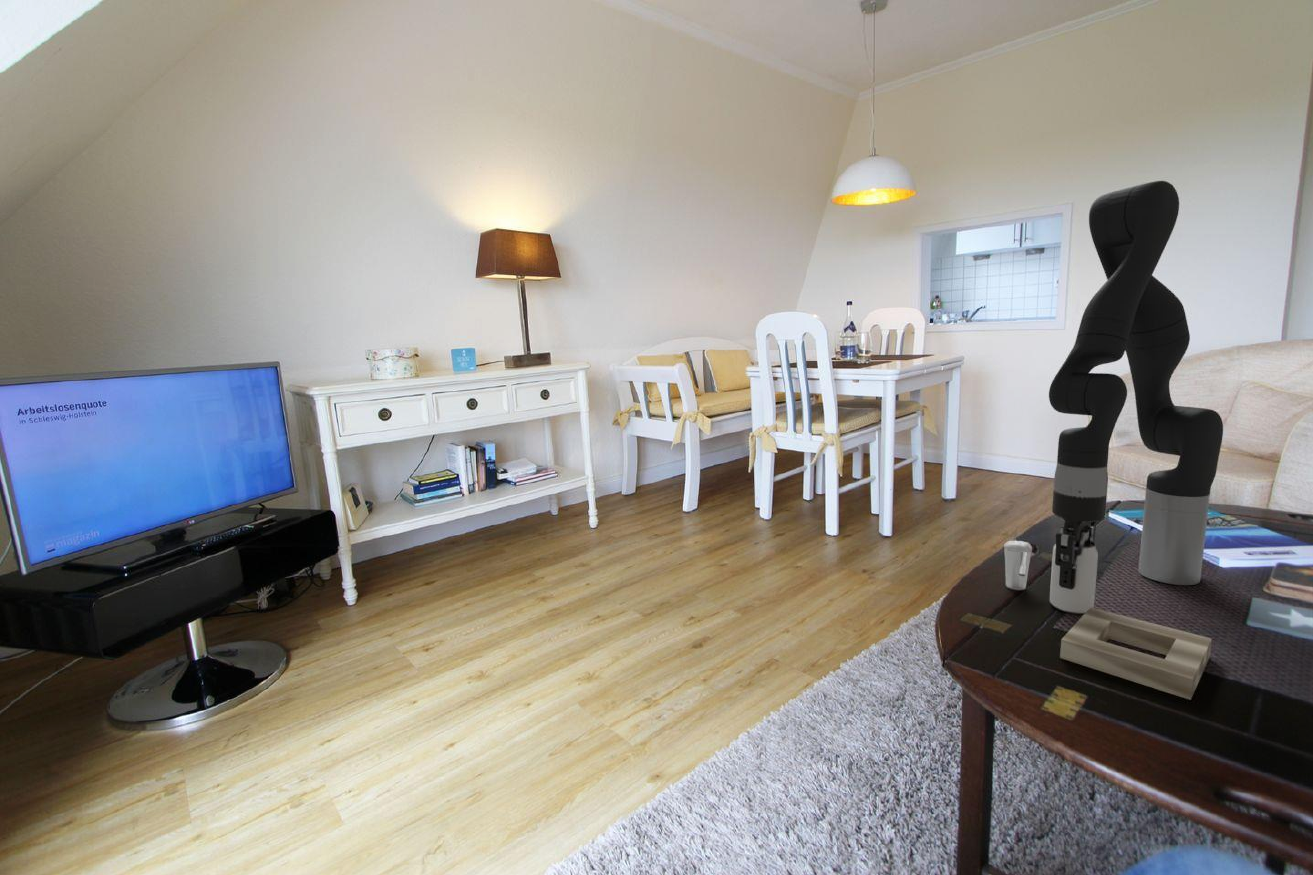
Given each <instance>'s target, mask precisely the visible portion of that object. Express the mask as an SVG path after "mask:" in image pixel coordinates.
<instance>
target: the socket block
mask: <svg viewBox="0 0 1313 875" xmlns="http://www.w3.org/2000/svg"><path fill="white" fill-rule="evenodd" d="M1109 640H1111V641H1115V642H1119V643H1122V644H1125V645H1129V646H1132V647H1136V648H1138V649H1143V650H1147V651H1151V652H1153V653H1156V654H1160V655H1164V656H1166V657H1165V658H1163V657H1162V658H1161V657H1158V656H1156V655H1152V654H1151V655H1150V654H1148V653H1144V652H1140V651H1137V650H1134V649H1130V648H1127V647H1123V646H1120V645H1116V644H1113V643H1110V642H1108V641H1109ZM1212 642H1213V641H1212V638H1210V637H1206V636H1203V635H1199V634H1195V633H1192V632H1188V631H1184V630H1180V629H1175V628H1173V627H1169V626H1164V625H1161V624H1157V623H1153V622H1149V621H1145V620H1143V619H1142V620H1141V619H1137V618H1134V617H1129V616H1125V615H1121V614H1119V613H1113V612H1111V611H1106V610H1102V609H1098V608H1096V607H1095V608H1092V607H1090V609H1089V610H1088V611H1087V612H1086V613H1085V614H1082V615H1081V617H1080V618H1079V619H1078V621H1077V622H1076V623H1075V624H1074V625H1073V626H1072V627H1071V628H1070V629H1069V631H1068V632H1067V633H1066V634H1065V635H1064V636H1063V637H1062V638H1061V640H1060V651H1059V652H1060V653H1059V658H1060V659H1062V660H1065V661H1069V662H1071V663H1074V664H1078V665H1081V666H1084V667H1086V668H1090V669H1093V670H1097V671H1100V672H1102V673H1106V674H1109V675H1111V676H1115V677H1119V678H1122V679H1124V680H1127V681H1131V682H1134V683H1136V684H1140V685H1143V686H1145V687H1150V688H1153V689H1155V690H1157V691H1161V692H1165V693H1168V694H1171V695H1173V696H1177V697H1180V698H1184V699H1186V700H1190V701H1191V700H1192V698H1193V695H1194V693H1195V691H1196V689H1197V687H1198V684H1199V682H1200V681H1201V678H1202V675H1203V673H1204V672H1205V669H1206V666H1207V664H1208V662H1209V660H1210V656H1211V648H1212Z"/></svg>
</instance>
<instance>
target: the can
mask: <svg viewBox="0 0 1313 875" xmlns="http://www.w3.org/2000/svg"><path fill="white" fill-rule="evenodd" d="M1078 549H1079V547H1075V550H1078ZM1055 555H1056V543H1055V544H1053V548H1052V557H1051V558H1052V560H1051V574H1050V589H1049V590H1050V591H1049V602H1050V604H1051V605H1052V606H1053V607H1054V608H1055V609H1057V610H1058V611H1063V612H1065V613H1070V614H1077V615H1078V614H1079V615H1084V614H1085V613H1086V612H1087V611H1088V610H1089V609H1090V607H1092V608H1094V607H1095V596H1096V586H1097V585H1096V584H1097V575H1098V560H1099V558H1098V557H1099V552H1098V549H1097V548H1096V543H1095V541H1094V542H1093V541H1091V543H1088V542H1087V541H1086V543H1085V547H1084V551H1083V555H1082V556H1079V557H1078V564H1077V565H1078V566H1077V568H1076V581H1075V587H1074V588H1073V589H1067V588H1063V587H1061V586H1060V585H1059V576H1060V566H1057V565H1055ZM1064 560H1068V561H1069V556H1068V555H1064Z"/></svg>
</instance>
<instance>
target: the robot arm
mask: <svg viewBox="0 0 1313 875" xmlns="http://www.w3.org/2000/svg"><path fill="white" fill-rule="evenodd" d="M1179 212H1180V198H1179V194H1178V191H1177V190H1176V188H1175V187H1174V185H1173V184H1172V183H1170V182H1168V181H1166V180H1157V181H1156V180H1155V181H1152V182H1150V181H1149V182H1145V183H1141V184H1137V185H1134V186H1130V187H1126V188H1123V189H1119V190H1114V191H1111V192H1108V193H1104V194H1101V195H1100V196H1098V197H1097V198H1096V199H1095V200H1094V201H1093V202H1092V204H1091V206H1090V209H1089V213H1088V225H1089V226H1088V227H1089V230H1090V235H1091V240H1092V242H1093V245H1094V248H1095V251H1096V253H1097V256H1098V258H1099V262H1100V264H1101V267H1102V269H1103V271H1104V274H1105V277H1106V281H1105V282H1104V284H1103V285H1102V286H1101V287H1100V288H1099V289H1098V290H1097V292H1096V293H1095V294H1094V295H1093V296H1092V298H1091V299H1090V301H1089V302H1088V304H1087V306H1086V307H1085V309H1084V312H1083V314H1082V316H1081V320H1080V324H1079V327H1078V331H1077V336H1076V338H1075V341H1074V345H1073V347H1072V348H1071V351H1069V353H1068V355H1067V357H1066V359H1065V361H1064V362H1063V363H1062V365H1061V367H1060V368H1059V369H1058V371H1057V373H1056V375H1054V378H1053V379H1052V381H1051V384H1050V386H1049V391H1048V399H1049V403H1050V405H1051V407H1052V409H1054V411H1056V412H1058V413H1062V414H1065V415H1066V414H1068V415H1079V416H1081V415H1082V416H1090V417H1091V420H1090V422H1089V423H1088V424H1087V425H1086V426H1084V427H1071V428H1067V429H1066V428H1065V429H1064V430H1062V431H1061V432H1060V433H1059V436H1058V443H1057V445H1058V446H1057V457H1056V458H1057V459H1056V468H1055V472H1054V478H1053V479H1054V480H1053V493H1052V494H1053V495H1052V507H1051V508H1052V509H1051V512H1052V513H1053V515H1054V516H1056V517H1057V518H1058V517H1059V518H1061V519H1063V520H1064V523H1063V525H1062V526H1061V527H1060V531H1059V532H1058V531H1057V532H1056V534H1055V544H1056V555H1055V565H1057V566H1060V576H1059V585H1060V586H1061V587H1063V588H1067V589H1073V588H1074V587H1075V581H1076V568H1077V566H1078V565H1077V564H1078V557H1079V556H1082V555H1083V551H1084V547H1085V543H1086V541H1087V542H1088V543H1091V541H1093V542H1094V543H1095V540H1096V539H1095V538H1096V529H1097V523H1098V522H1099V521H1103V520H1104V519H1105V518H1106V510H1107V500H1108V499H1107V497H1108V486H1109V485H1108V484H1109V475H1108V474H1109V472H1108V461H1109V460H1108V459H1109V448H1110V443H1111V442H1110V441H1111V438H1112V436H1113V433H1114V430H1115V427H1116V423H1117V421H1118V420H1119V417H1120V415H1121V412H1122V410H1123V409H1124V406H1125V404H1126V401H1127V398H1128V388H1127V385H1126V382H1125V381H1124V380H1123V378H1122V377H1120V376H1119V375H1118V374H1114V373H1106V372H1104V373H1103V372H1102V373H1101V372H1099V373H1096V372H1094V373H1093V372H1091V371H1092V370H1093V369H1094V368H1095V367H1098V366H1102V365H1105V364H1110V363H1114V362H1117V361H1119V360H1121V359H1122V358H1123V356H1124V355H1125V354H1126V356H1127V357H1126V358H1127V362H1128V365H1129V369H1130V370H1129V372H1130V374H1131V375H1130V376H1131V379H1132V380H1131V381H1132V385H1133V389H1134V397H1135V408H1136V418H1137V424H1138V425H1137V427H1138V431H1139V437H1140V439H1141V441H1142V443H1143V445H1144V446H1145V447H1146V448H1147V449H1148V450H1150V451H1153V452H1156V453H1159V454H1160V453H1161V454H1166V455H1172V456H1179V459H1178V463H1177V465H1176V466H1175V467H1174V468H1171V469H1164V470H1157V471H1152V472H1150V473H1149V474H1148V476H1147V479H1146V484H1145V485H1146V486H1145V487H1146V488H1145V495H1144V496H1145V498H1144V508H1143V517H1142V518H1143V520H1142V531H1141V541H1140V549H1139V550H1140V551H1139V560H1138V569H1137V571H1138V573H1139V574H1140V575H1141V576H1143V577H1145V578H1148V579H1150V580H1153V581H1156V582H1160V583H1163V584H1169V585H1176V586H1193V585H1197V584H1199V583H1200V582H1201V576H1202V567H1203V559H1204V550H1205V543H1206V542H1205V541H1206V533H1207V525H1208V524H1207V523H1208V514H1209V507H1210V506H1209V504H1210V503H1209V502H1210V496H1211V489H1212V485H1213V483H1214V481H1215V478H1216V474H1217V470H1218V463H1219V458H1220V452H1221V447H1222V442H1223V436H1224V423H1223V422H1224V421H1223V420H1222V417H1221V415H1220V413H1218V412H1217V411H1216V410H1214V409H1211V408H1205V407H1204V408H1203V407H1195V406H1194V407H1193V406H1184V405H1183V406H1181V405H1175V404H1174V403H1173V400H1172V397H1171V392H1170V391H1171V390H1170V381H1171V379H1172V375H1173V374H1174V372H1175V371H1176V369H1177V367H1178V366H1179V364H1180V363H1181V361H1182V359H1183V357H1184V356H1185V354H1186V352H1187V351H1188V348H1189V345H1190V339H1191V338H1190V336H1191V334H1190V329H1189V325H1188V320H1187V314H1186V312H1185V311H1186V310H1185V308H1184V305H1183V303H1182V301H1181V300H1180V299H1179V298H1178V297H1177V295H1176V294H1175V293H1174V292H1173V291H1171V289H1169V288H1168V286H1166V285H1165V284H1164V283H1162V282H1161V281H1160V280H1158V279H1157V278H1156V277H1155V276H1153V274H1154V271H1155V270H1156V267H1157V266H1158V263H1159V261H1160V259H1161V258H1162V254H1163V253H1164V250H1165V248H1166V246H1167V244H1168V242H1169V240H1170V237H1171V235H1172V233H1173V230H1174V228H1175V226H1176V223H1177V220H1178V216H1179ZM1075 547H1079V549H1078V550H1075ZM1064 555H1068V556H1069V561H1068V560H1064Z"/></svg>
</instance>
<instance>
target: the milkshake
mask: <svg viewBox="0 0 1313 875" xmlns="http://www.w3.org/2000/svg"><path fill="white" fill-rule="evenodd" d="M1012 536H1013V540H1008V541H1006V542H1005V543H1004V544H1003V548H1004V550H1003V551H1004V568H1005V574H1004V575H1005V586H1006V588H1008V589H1010V590H1015V591H1024V590H1025V589H1026V588H1027V582H1028V577H1029V576H1028V575H1029V569H1030V568H1029V567H1030V562H1031V558H1032V557H1031V556H1032V551H1033V547H1032V546H1031V544H1030V543H1029V542H1027V541H1022V540H1017V532H1016V531H1014V532H1013V535H1012Z"/></svg>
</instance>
